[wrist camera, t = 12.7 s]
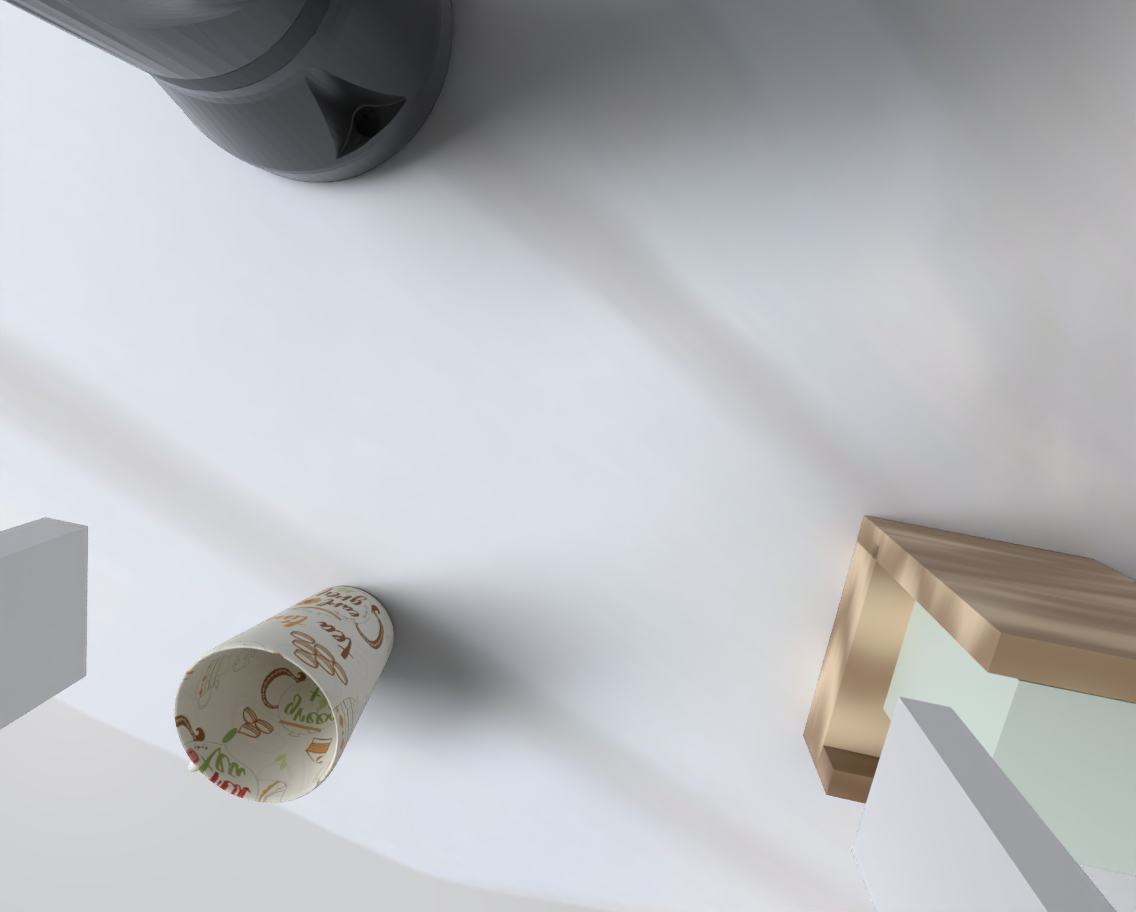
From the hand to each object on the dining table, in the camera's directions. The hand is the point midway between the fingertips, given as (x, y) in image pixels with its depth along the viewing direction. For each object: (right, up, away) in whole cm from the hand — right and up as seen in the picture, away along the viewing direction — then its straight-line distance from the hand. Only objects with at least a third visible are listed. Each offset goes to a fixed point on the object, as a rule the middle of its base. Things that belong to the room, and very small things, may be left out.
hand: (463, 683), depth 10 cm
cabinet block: (+22, -7, +23) cm, 33 cm away
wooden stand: (+23, -8, +26) cm, 35 cm away
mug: (-14, -9, +31) cm, 35 cm away
